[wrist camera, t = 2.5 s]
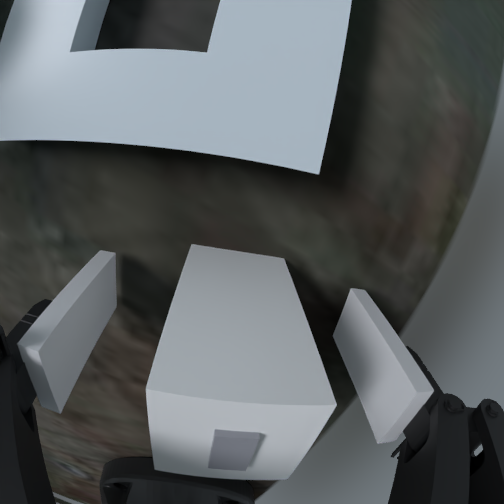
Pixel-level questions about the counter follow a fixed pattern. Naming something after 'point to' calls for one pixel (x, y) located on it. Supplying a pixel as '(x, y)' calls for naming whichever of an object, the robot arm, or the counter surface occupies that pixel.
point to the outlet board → (178, 81)
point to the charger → (235, 372)
